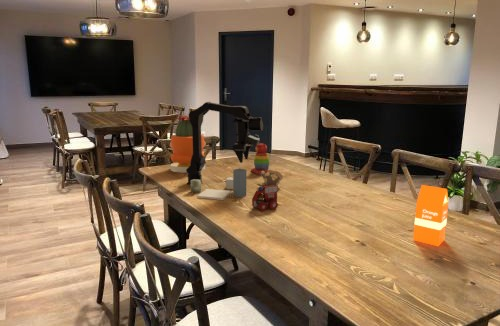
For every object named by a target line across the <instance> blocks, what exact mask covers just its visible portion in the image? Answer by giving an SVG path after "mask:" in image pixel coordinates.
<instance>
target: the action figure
mask: <svg viewBox="0 0 500 326" xmlns="http://www.w3.org/2000/svg"><path fill="white" fill-rule="evenodd" d="M268 170H269V171H268V173H265V172H264V171H261V173H260V176H261V177H262V180H263V183H262V184H261V187H264V186H271V185H277V186H279V184H280V183H281V181H282V180H283V179H284V175H283V174H282V173H281V172H280V171H279V170H274V169H268Z"/></svg>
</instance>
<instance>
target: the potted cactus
mask: <svg viewBox="0 0 500 326" xmlns="http://www.w3.org/2000/svg"><path fill="white" fill-rule="evenodd" d="M177 116H178V117H173V119H174V120H179V121H178V122H177V124H176V126H175V127H176V128H174V129H175V130H174V132H175V133H174V134H173V135H171V137H170V143H169V147H170V148H171V149H172V152H173V153H172V154H171V155H170V160H171V161H172V162H173V163H171V164H170V171H171V172H174V173H187V171H186V169H187V168H188V167H189V166H190V163H191V158H192V155H193V138H192V126H191V123H190V120H189V115H188V114H184V115H180V114H177ZM206 145H207V142H206V141H205V136H204V134H203V133H201V149H202V155H203V156H205V153H204V147H206ZM203 171H206V164H205V165H204V167H203V168H202V170H201V171H200V172H203Z"/></svg>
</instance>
